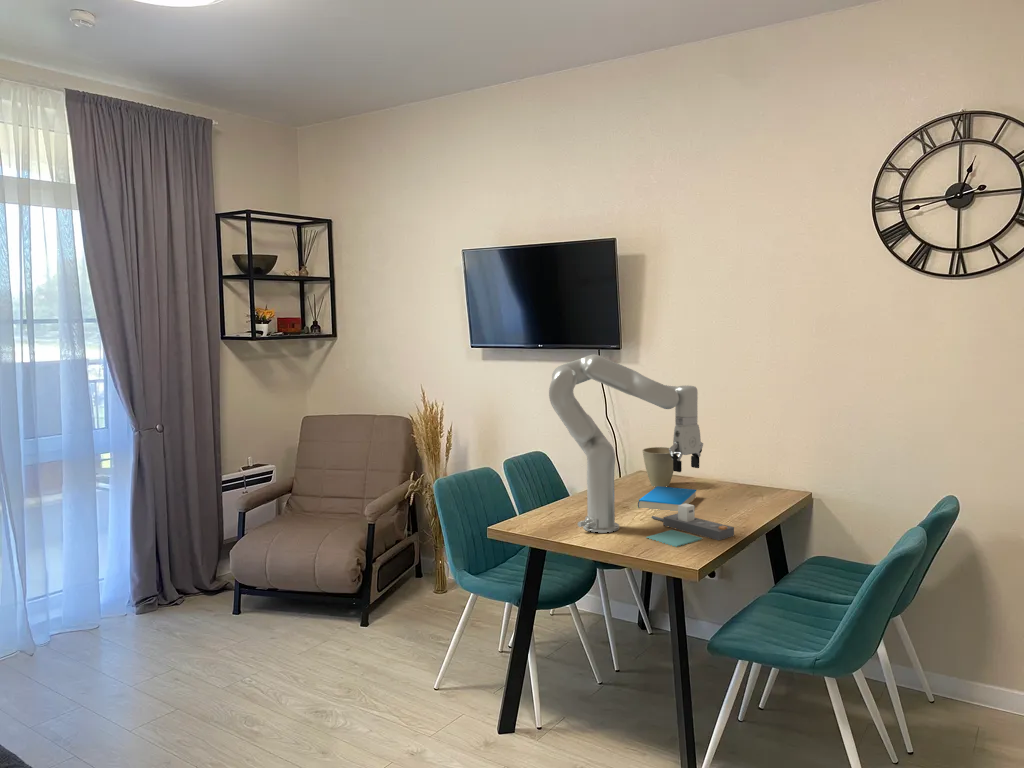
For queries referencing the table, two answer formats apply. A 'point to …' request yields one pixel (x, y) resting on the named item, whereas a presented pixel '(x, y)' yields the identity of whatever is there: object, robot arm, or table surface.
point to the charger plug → (686, 512)
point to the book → (666, 498)
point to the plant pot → (658, 465)
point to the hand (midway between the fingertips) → (686, 469)
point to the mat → (674, 538)
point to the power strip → (698, 527)
